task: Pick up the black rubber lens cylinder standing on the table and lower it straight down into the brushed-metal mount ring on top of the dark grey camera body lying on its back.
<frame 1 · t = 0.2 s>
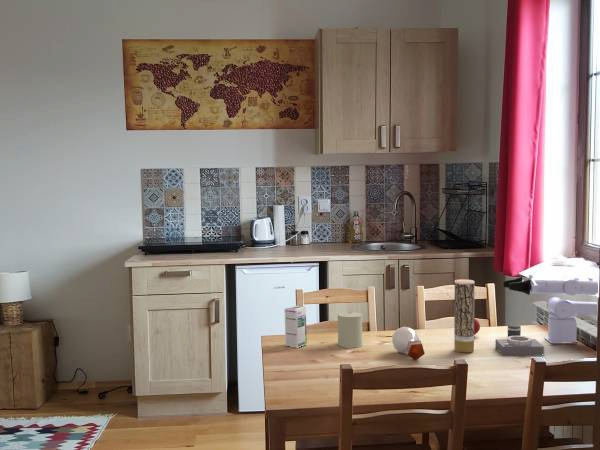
hand: (506, 285, 255), 21 cm above the table, tool horizontal, fingers open, 7 cm apart
onion: (472, 336, 266), on the table
camera body: (519, 351, 244), on the table
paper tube: (464, 351, 246), on the table
can: (350, 345, 257), on the table
syrup box: (296, 346, 256), on the table
lens: (514, 340, 258), on the table
potion bottle: (409, 355, 242), on the table
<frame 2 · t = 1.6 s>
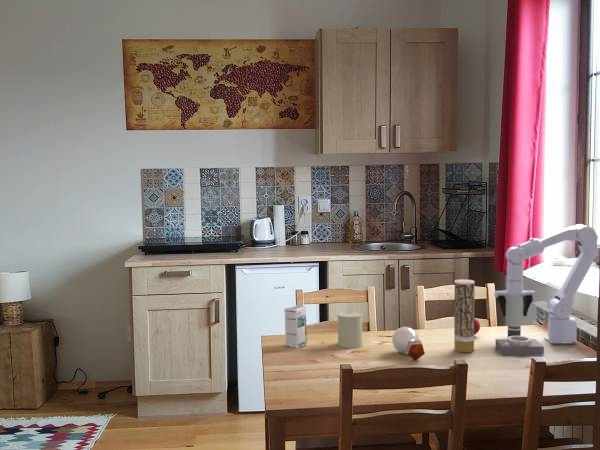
hand: (514, 315, 257), 9 cm above the table, tool pointing down, fingers open, 7 cm apart
nothing on the table moved.
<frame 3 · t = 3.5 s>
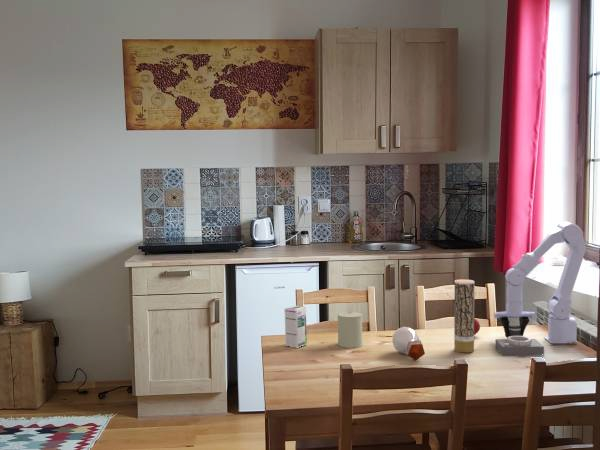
hand: (514, 336, 258), 1 cm above the table, tool pointing down, fingers closed on lens, 5 cm apart
lens: (514, 340, 258), on the table, touching gripper
everything else where it was.
when the fingers open (5 cm above the table, at t = 6.9 s): lens stays where it is, resting on camera body.
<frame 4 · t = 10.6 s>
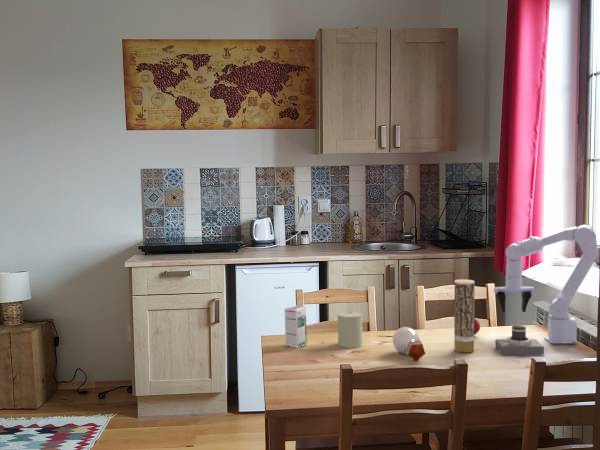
hand: (513, 311, 262), 10 cm above the table, tool pointing down, fingers open, 7 cm apart
lens: (518, 342, 245), point 3 cm above the table, touching camera body
everything else where it was.
at the end: lens 0.5 cm off-centre on the camera body, point 3.0 cm above the camera body's base; lens tilted 0°; the gripper is holding nothing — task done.
